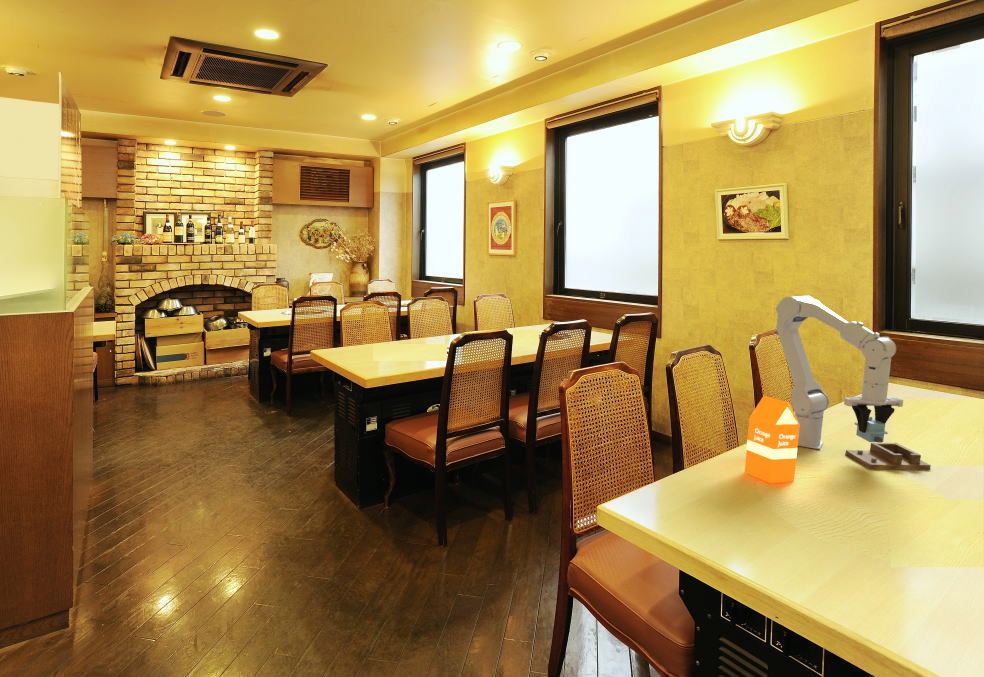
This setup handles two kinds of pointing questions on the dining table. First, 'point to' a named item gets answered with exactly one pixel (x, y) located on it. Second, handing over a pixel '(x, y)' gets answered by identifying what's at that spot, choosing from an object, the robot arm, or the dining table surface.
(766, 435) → the orange juice
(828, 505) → the dining table surface
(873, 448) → the board
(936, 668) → the dining table surface
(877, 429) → the block
